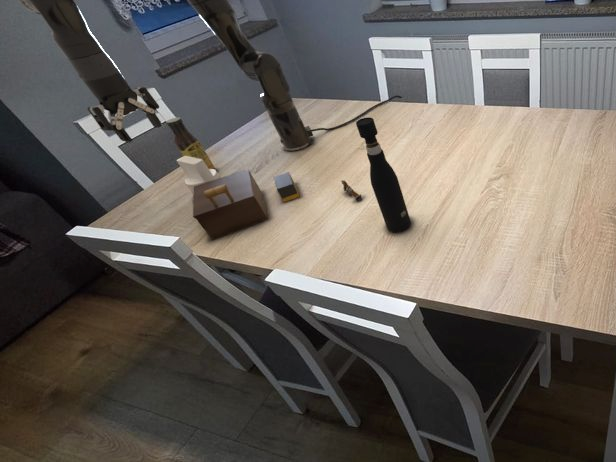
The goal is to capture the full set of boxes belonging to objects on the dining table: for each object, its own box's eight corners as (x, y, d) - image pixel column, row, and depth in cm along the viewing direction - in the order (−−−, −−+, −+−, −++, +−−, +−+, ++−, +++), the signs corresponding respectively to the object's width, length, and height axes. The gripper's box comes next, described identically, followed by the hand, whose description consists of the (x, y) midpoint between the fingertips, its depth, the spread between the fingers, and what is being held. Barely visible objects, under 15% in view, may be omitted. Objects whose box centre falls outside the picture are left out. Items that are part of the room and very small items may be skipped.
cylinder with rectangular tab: (232, 186, 131) (211, 154, 123) (207, 202, 125) (184, 169, 117) (214, 182, 134) (193, 150, 126) (189, 197, 128) (166, 165, 120)
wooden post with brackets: (345, 186, 123) (344, 177, 119) (362, 203, 121) (361, 194, 117) (340, 189, 122) (338, 180, 118) (357, 206, 120) (356, 197, 116)
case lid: (254, 198, 109) (244, 181, 106) (194, 218, 104) (182, 202, 101) (249, 171, 121) (240, 155, 118) (195, 188, 116) (184, 172, 113)
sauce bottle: (207, 179, 136) (171, 125, 123) (192, 178, 137) (155, 125, 125) (221, 168, 141) (187, 115, 128) (206, 168, 142) (172, 115, 129)
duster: (295, 184, 128) (288, 171, 125) (299, 196, 122) (292, 183, 119) (280, 189, 127) (273, 176, 124) (284, 202, 121) (276, 189, 118)
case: (268, 219, 115) (254, 197, 110) (211, 239, 110) (194, 217, 105) (262, 192, 126) (249, 171, 121) (210, 210, 121) (195, 188, 116)
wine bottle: (388, 219, 110) (352, 116, 90) (411, 216, 110) (381, 113, 90) (385, 234, 105) (347, 129, 85) (410, 231, 105) (376, 125, 85)
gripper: (80, 85, 92) (129, 148, 102) (137, 63, 102) (176, 122, 112) (58, 84, 94) (109, 146, 104) (117, 63, 104) (157, 121, 114)
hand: (144, 134), depth 108 cm, fingers open, 8 cm apart
